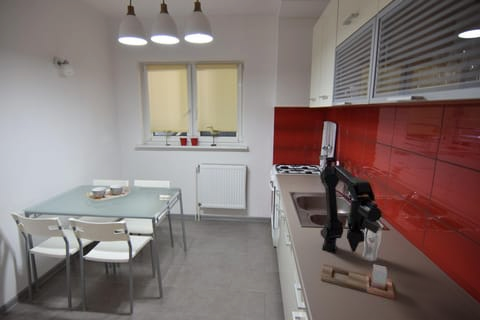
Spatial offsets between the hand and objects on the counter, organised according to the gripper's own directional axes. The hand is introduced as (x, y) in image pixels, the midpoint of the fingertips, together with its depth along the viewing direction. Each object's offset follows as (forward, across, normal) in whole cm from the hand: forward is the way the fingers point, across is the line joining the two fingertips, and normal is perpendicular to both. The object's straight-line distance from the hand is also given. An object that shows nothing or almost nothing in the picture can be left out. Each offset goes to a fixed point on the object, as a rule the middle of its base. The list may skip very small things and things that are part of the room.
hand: (353, 246), depth 111 cm
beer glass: (+12, +15, -8) cm, 21 cm away
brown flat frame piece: (+12, -6, -2) cm, 14 cm away
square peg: (+12, -6, -10) cm, 17 cm away
